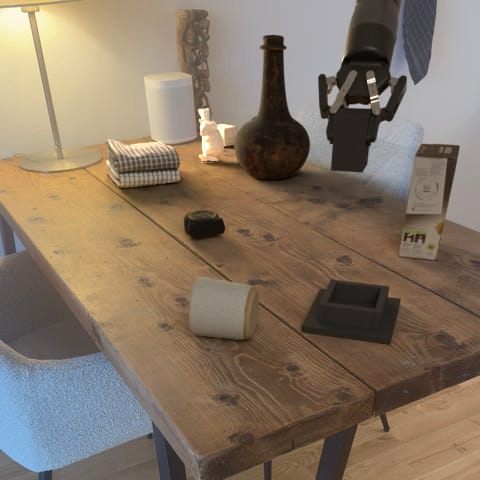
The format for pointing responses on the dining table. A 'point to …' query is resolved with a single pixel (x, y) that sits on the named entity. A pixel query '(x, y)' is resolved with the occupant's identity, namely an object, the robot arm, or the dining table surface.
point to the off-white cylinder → (223, 309)
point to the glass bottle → (272, 124)
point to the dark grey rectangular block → (350, 140)
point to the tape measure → (203, 224)
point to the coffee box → (428, 200)
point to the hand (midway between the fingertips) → (349, 141)
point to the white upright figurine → (210, 137)
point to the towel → (142, 163)
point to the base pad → (353, 312)
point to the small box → (227, 133)
